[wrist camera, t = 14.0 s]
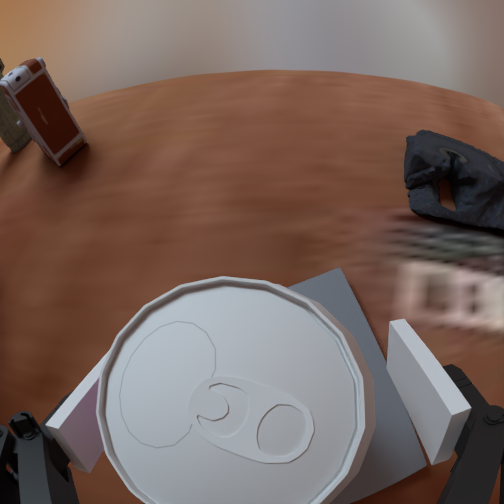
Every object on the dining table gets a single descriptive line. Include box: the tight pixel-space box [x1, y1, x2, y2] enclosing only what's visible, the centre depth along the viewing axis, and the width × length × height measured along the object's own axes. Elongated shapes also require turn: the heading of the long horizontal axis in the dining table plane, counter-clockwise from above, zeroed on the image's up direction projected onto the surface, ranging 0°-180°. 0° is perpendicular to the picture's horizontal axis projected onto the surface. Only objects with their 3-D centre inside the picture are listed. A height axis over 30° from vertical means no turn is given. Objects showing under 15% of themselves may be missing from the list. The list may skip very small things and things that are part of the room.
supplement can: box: [96, 276, 376, 504], centre depth 13 cm, size 8×8×15 cm
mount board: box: [288, 267, 427, 504], centre depth 20 cm, size 18×18×2 cm
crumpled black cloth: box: [404, 130, 504, 230], centre depth 26 cm, size 15×22×5 cm
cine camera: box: [0, 57, 86, 166], centre depth 40 cm, size 9×19×20 cm, turn 50°
